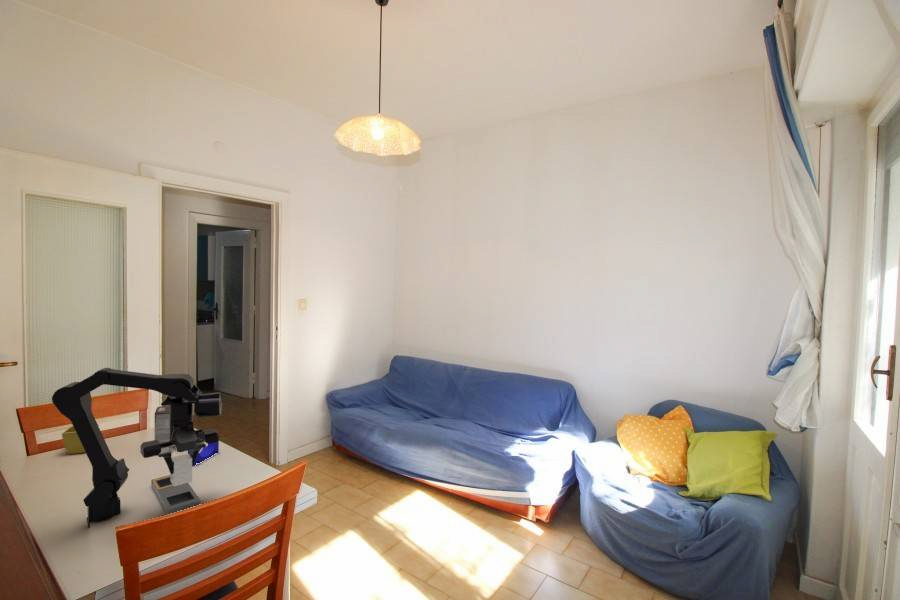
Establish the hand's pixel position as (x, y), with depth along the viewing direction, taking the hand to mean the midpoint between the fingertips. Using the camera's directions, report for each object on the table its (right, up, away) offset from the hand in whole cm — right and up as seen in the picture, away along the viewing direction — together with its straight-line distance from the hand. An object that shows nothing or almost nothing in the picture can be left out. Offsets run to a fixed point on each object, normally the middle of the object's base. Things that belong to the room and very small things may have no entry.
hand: (181, 471), depth 123 cm
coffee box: (-33, -9, +42) cm, 55 cm away
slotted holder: (-5, -11, +5) cm, 13 cm away
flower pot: (-63, -8, +38) cm, 74 cm away
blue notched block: (-14, -10, +34) cm, 39 cm away
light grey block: (0, -3, 0) cm, 3 cm away
